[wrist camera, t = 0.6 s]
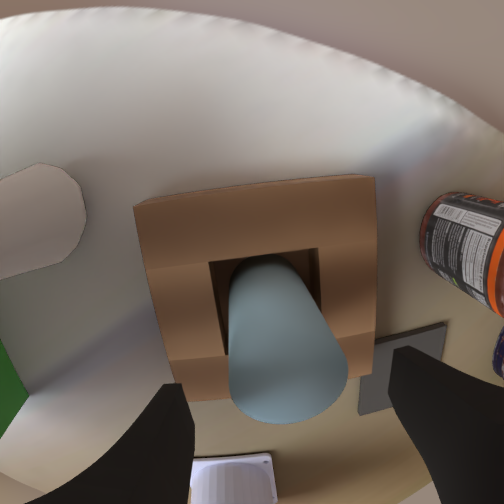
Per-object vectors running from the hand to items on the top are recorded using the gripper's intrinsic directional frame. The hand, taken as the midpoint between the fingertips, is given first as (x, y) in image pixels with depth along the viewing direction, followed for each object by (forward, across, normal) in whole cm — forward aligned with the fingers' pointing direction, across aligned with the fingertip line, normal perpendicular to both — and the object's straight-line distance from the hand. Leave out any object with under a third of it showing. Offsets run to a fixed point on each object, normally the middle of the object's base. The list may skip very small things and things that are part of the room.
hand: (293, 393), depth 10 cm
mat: (+10, -10, +9) cm, 17 cm away
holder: (+10, 0, 0) cm, 10 cm away
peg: (+10, 0, 0) cm, 10 cm away
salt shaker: (+10, +12, -6) cm, 17 cm away
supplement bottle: (+10, -13, -2) cm, 17 cm away
